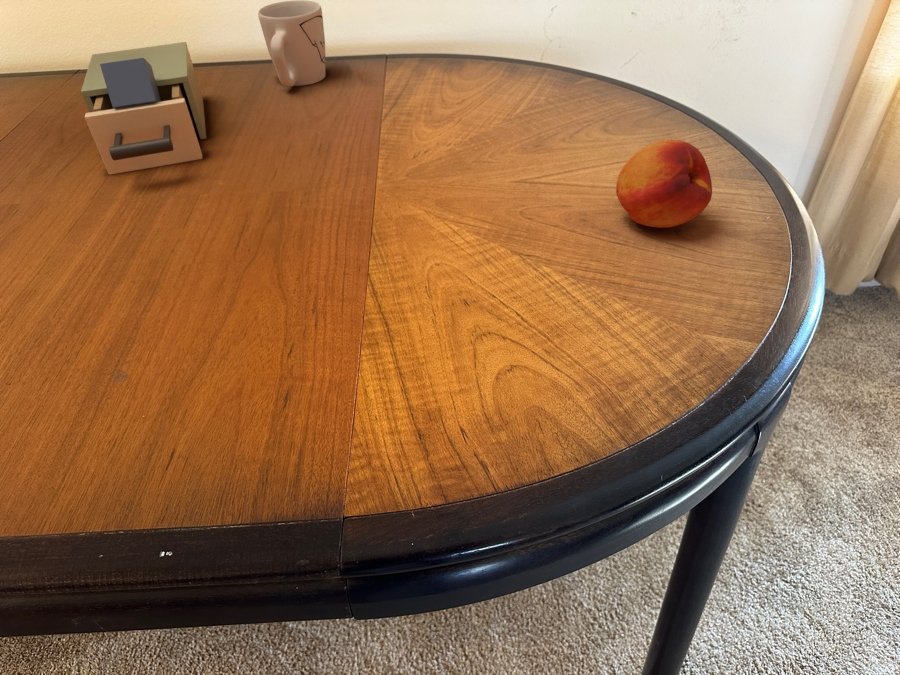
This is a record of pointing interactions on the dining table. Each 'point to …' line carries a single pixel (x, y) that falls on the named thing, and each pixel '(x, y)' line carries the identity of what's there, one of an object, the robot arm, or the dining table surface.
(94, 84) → the cabinet
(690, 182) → the fruit
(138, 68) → the block
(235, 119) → the dining table surface
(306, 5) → the mug
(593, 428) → the dining table surface
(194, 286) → the dining table surface
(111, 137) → the drawer
